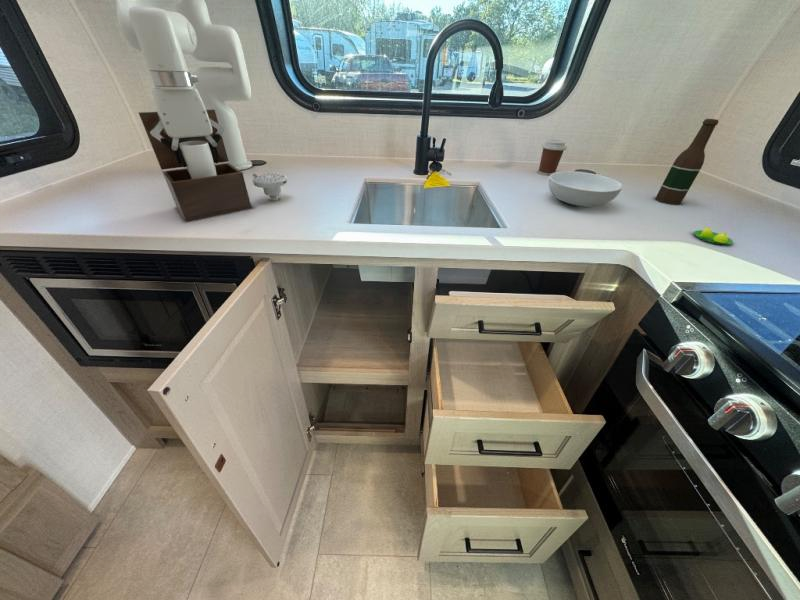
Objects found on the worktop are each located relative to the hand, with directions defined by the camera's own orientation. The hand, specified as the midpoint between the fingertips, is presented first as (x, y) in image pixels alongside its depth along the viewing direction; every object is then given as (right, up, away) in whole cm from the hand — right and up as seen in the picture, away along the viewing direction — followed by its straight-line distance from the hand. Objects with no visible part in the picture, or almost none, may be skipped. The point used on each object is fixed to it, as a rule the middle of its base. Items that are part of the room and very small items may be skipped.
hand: (199, 163), depth 82 cm
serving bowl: (+110, -4, +21) cm, 112 cm away
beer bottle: (+143, -2, +24) cm, 145 cm away
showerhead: (+14, -5, +14) cm, 20 cm away
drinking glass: (0, -8, +6) cm, 10 cm away
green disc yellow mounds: (+133, -20, 0) cm, 135 cm away
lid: (-3, +6, 0) cm, 7 cm away
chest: (0, -9, +7) cm, 12 cm away
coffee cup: (+113, +17, +48) cm, 124 cm away
